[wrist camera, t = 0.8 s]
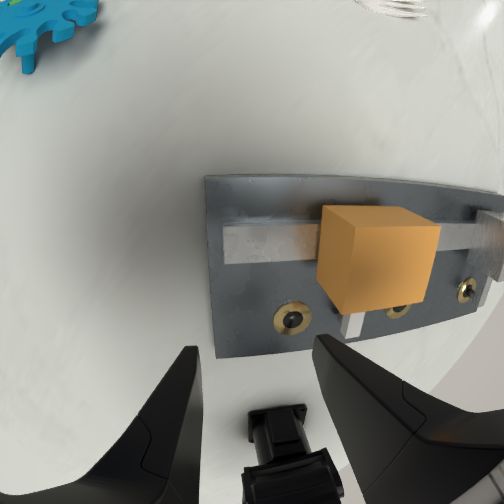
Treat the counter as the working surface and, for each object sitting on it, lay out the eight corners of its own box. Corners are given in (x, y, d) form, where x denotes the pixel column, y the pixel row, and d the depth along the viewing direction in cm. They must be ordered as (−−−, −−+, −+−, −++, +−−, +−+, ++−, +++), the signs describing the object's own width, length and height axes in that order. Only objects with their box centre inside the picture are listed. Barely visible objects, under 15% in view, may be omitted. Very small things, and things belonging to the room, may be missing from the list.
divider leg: (372, 316, 22) (404, 354, 18) (305, 325, 22) (329, 372, 17) (393, 203, 19) (441, 226, 14) (318, 202, 18) (355, 227, 13)
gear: (132, -2, 11) (-10, 62, 6) (115, 63, 16) (5, 140, 11) (49, -27, 9) (-58, 26, 4) (42, 25, 14) (-48, 83, 9)
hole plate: (468, 305, 28) (503, 335, 21) (215, 346, 24) (220, 410, 17) (496, 193, 22) (543, 211, 16) (205, 175, 18) (203, 196, 12)
